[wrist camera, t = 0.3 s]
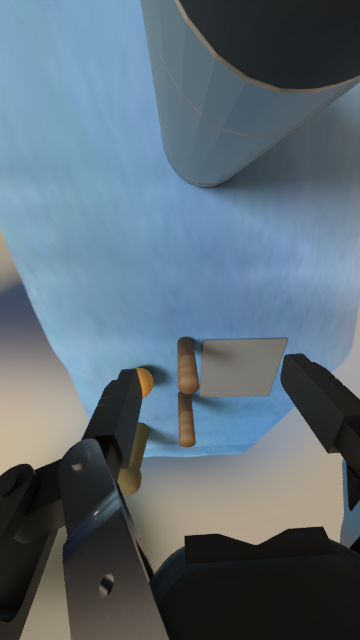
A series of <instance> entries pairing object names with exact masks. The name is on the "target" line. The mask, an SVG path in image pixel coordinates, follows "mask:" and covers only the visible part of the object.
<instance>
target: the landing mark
mask: <svg viewBox="0 0 360 640" xmlns="http://www.w3.org/2000/svg"><path fill="white" fill-rule="evenodd" d="M287 340H288V338H262V339H205V340H203V353H202V367H201V381H200V395H199V397H236V396H268V395H269V392H270V390H271V387H272V384H273V381H274V378H275V375H276V372H277V369H278V366H279V363H280V360H281V358H282V355H283V352H284V349H285V346H286V343H287Z"/></svg>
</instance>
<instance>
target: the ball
mask: <svg viewBox="0 0 360 640" xmlns="http://www.w3.org/2000/svg"><path fill="white" fill-rule="evenodd" d="M136 369H137V372H138V376H139V379H140V383H141V387H142V398H144V397H146V396H147V395H148V394H149V393H150V392H151V390H152V388H153V377H152V375H151V373H150V372H149V371H148V370H146V369H144V368H136Z"/></svg>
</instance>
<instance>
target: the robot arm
mask: <svg viewBox="0 0 360 640" xmlns="http://www.w3.org/2000/svg"><path fill="white" fill-rule="evenodd" d="M141 6H142V12H143V18H144V25H145V31H146V38H147V44H148V50H149V57H150V63H151V70H152V76H153V83H154V89H155V95H156V102H157V108H158V115H159V122H160V128H161V135H162V140H163V145H164V150H165V152H166V155H167V158H168V160H169V162H170V164H171V166H172V167H173V169H174V170H175V171H176V173H177V174H178V175H179V176H180V177H181V178H182V179H184V180H185V181H186V182H188V183H190V184H192V185H194V186H197V187H205V188H206V187H214V186H217V185H219V184H222V183H224V182H225V181H227V180H229V179H230V178H231V177H232V176H234V175H235V174H237V173H238V172H240V171H241V170H242V169H244V168H245V167H246V166H248V165H249V164H250V163H252V162H253V161H254V160H256V159H257V158H258V157H260V156H261V155H263V154H264V153H265V152H267V151H268V150H269V149H271V148H272V147H273V146H275V145H276V144H277V143H279V142H280V141H281V140H283V139H284V138H286V137H287V136H288V135H290V134H291V133H292V132H294V131H295V130H296V129H298V128H299V127H300V126H302V125H303V124H305V123H306V122H307V121H309V120H310V119H311V118H313V117H314V116H315V115H316V114H318V113H319V112H320V111H322V110H323V109H324V108H326V107H327V106H328V105H330V104H331V103H332V102H334V101H335V100H337V99H338V98H339V97H341V96H342V95H343V94H345V93H346V92H347V91H349V90H350V89H351V88H353V87H354V86H355V85H357V84H358V83H359V82H360V0H141ZM280 379H281V384H282V386H283V388H284V390H285V391H286V393H287V394H288V396H289V397H290V399H291V400H292V401H293V403H294V404H295V406H296V407H297V409H298V410H299V412H300V413H301V415H302V416H303V417H304V419H305V420H306V422H307V423H308V425H309V426H310V428H311V429H312V431H313V432H314V434H315V435H316V437H317V438H318V439H319V441H320V442H321V444H322V445H323V447H324V448H325V450H326V451H327V453H341V455H342V457H343V458H344V459H343V462H342V470H343V497H344V518H343V523H342V527H341V534H340V543H337V542H335V541H333V540H331V539H329V538H328V536H327V534H326V532H325V530H324V528H323V527H308V528H293V529H287V530H285V531H283V532H282V533H280V534H278V535H276V536H274V537H272V538H270V539H269V540H267V541H265V542H263V543H261V544H259V545H252V544H249V543H246V542H243V541H240V540H236V539H233V538H230V537H227V536H224V535H221V534H206V535H192V536H185V546H184V547H182V548H180V549H178V550H177V551H175V552H174V553H173V554H171V555H170V556H169V557H168V558H167V559H166V560H165V561H164V562H163V564H162V565H161V566H160V567H159V569H158V570H157V571H156V573H155V572H154V570H153V568H152V565H151V563H150V560H149V557H148V555H147V552H146V550H145V547H144V545H143V543H142V540H141V538H140V536H139V534H138V531H137V529H136V526H135V524H134V521H133V519H132V516H131V514H130V512H129V509H128V506H127V503H126V501H125V499H124V496H123V493H122V491H121V488H120V486H119V483H118V477H119V473H120V469H124V468H129V463H130V458H131V453H132V448H133V443H134V438H135V433H136V428H137V423H138V418H139V413H140V408H141V403H142V387H141V383H140V379H139V376H138V372H137V369H136V368H135V369H124V370H121V372H120V374H119V377H118V379H117V380H112V381H111V382H110V383H109V384H108V385H107V386H106V388H105V389H104V391H103V393H102V396H101V399H100V400H99V402H98V404H97V407H96V409H95V411H94V413H93V416H92V418H91V420H90V422H89V425H88V427H87V429H86V431H85V433H84V436H83V438H82V439H81V441H79V442H78V443H76V444H75V445H73V446H72V447H71V448H70V449H69V450H68V451H67V452H66V453H65V455H64V456H63V458H62V459H60V460H58V461H55V462H53V463H51V464H48V465H45V466H43V467H41V468H38V469H36V470H34V469H33V468H32V467H31V465H29V464H20V465H17V466H14V467H12V468H10V469H9V470H7V471H6V472H4V473H3V474H2V475H1V476H0V640H19V639H20V636H21V634H22V631H23V628H24V625H25V622H26V619H27V616H28V614H29V611H30V608H31V605H32V603H33V600H34V597H35V594H36V591H37V588H38V586H39V583H40V580H41V577H42V574H43V572H44V569H45V566H46V563H47V560H48V557H49V555H50V552H51V549H52V546H53V543H54V540H55V538H56V535H57V532H58V529H59V528H61V527H63V526H66V533H67V540H66V543H65V544H64V545H63V549H62V563H63V573H64V581H65V590H66V599H67V607H68V616H69V625H70V634H71V640H360V399H359V398H358V397H356V396H355V395H354V394H353V393H352V392H351V391H350V390H349V389H348V388H347V387H346V386H343V384H342V383H341V382H340V381H339V380H338V379H337V378H335V376H334V375H332V374H331V373H330V372H329V371H328V370H327V369H326V368H324V367H322V366H321V365H319V364H317V363H315V362H311V361H310V360H309V359H308V358H307V357H306V356H305V355H304V354H302V353H298V354H288V355H285V356H284V360H283V365H282V371H281V377H280Z"/></svg>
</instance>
